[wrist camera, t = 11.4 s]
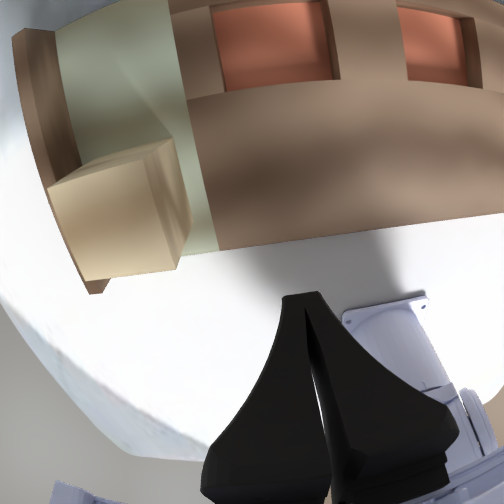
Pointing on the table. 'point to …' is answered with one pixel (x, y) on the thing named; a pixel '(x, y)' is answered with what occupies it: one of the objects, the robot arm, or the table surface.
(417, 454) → the robot arm
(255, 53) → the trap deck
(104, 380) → the table surface
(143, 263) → the pine block
